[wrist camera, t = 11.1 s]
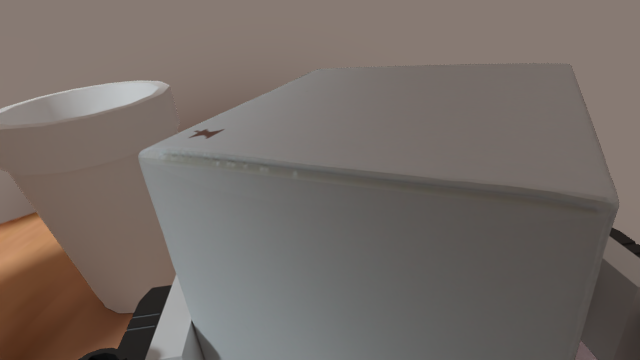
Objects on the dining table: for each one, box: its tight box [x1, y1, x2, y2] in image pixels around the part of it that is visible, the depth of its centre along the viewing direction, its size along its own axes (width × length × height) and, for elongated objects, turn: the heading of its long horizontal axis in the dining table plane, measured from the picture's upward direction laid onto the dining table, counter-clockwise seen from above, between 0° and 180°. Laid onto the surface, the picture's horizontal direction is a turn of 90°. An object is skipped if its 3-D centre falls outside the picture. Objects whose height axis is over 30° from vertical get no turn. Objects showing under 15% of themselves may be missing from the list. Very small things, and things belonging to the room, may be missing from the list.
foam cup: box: [0, 81, 180, 313], centre depth 25 cm, size 10×9×13 cm
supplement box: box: [138, 63, 619, 360], centre depth 11 cm, size 7×7×13 cm
